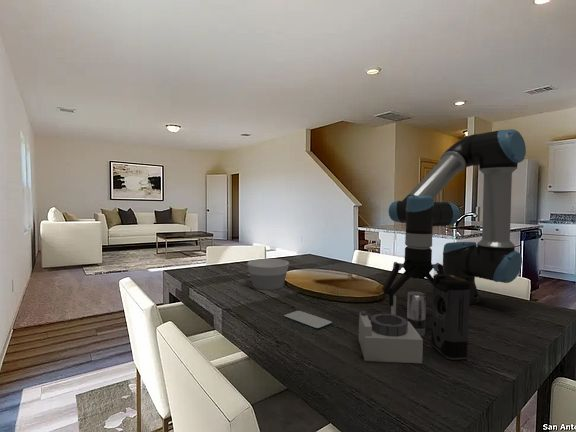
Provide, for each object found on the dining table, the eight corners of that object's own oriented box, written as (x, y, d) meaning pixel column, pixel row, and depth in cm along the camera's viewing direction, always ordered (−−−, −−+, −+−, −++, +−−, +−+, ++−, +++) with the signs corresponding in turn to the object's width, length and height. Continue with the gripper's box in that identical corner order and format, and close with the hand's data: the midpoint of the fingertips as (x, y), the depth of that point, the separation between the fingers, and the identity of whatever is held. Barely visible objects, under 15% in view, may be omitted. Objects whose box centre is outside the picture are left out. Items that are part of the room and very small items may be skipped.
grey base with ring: (408, 342, 94) (409, 310, 94) (422, 363, 82) (423, 327, 82) (358, 340, 95) (359, 308, 95) (364, 360, 83) (365, 325, 83)
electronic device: (428, 344, 93) (431, 273, 92) (449, 343, 93) (451, 273, 92) (447, 360, 84) (450, 282, 82) (470, 360, 84) (473, 282, 83)
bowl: (296, 284, 156) (297, 261, 155) (273, 294, 140) (273, 268, 139) (263, 278, 166) (263, 257, 165) (238, 287, 150) (238, 263, 149)
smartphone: (282, 318, 114) (317, 331, 102) (282, 315, 114) (317, 328, 102) (298, 312, 119) (333, 324, 107) (298, 310, 119) (333, 322, 107)
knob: (421, 329, 103) (423, 291, 103) (427, 336, 98) (428, 296, 97) (404, 328, 104) (405, 291, 103) (409, 336, 98) (410, 296, 98)
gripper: (456, 246, 102) (453, 314, 103) (373, 244, 104) (372, 311, 105) (467, 250, 94) (464, 323, 96) (378, 248, 97) (376, 319, 98)
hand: (416, 317), depth 100 cm, fingers open, 13 cm apart
